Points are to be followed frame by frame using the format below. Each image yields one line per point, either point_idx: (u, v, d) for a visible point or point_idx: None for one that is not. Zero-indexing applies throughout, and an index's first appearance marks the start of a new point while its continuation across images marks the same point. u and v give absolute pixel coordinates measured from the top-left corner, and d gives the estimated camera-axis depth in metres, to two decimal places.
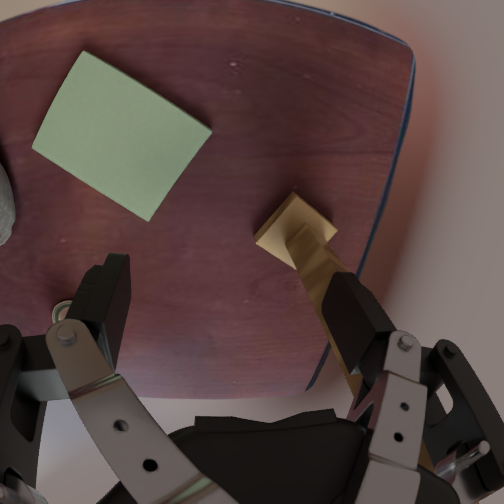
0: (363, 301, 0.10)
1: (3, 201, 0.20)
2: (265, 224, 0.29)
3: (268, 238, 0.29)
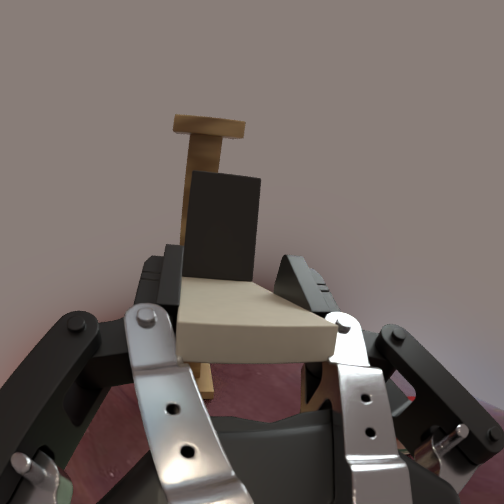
0: (305, 282, 0.10)
1: None
2: None
3: (203, 387, 0.34)
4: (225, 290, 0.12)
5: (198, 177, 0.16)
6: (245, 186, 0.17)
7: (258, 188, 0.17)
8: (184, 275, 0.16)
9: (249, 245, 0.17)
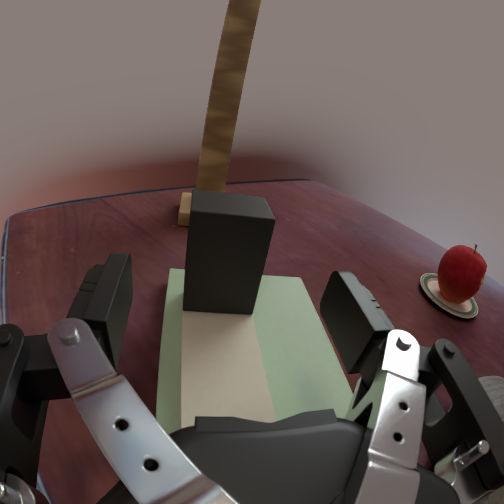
0: (361, 300, 0.10)
1: None
2: None
3: None
4: (221, 376, 0.13)
5: (198, 219, 0.13)
6: (255, 228, 0.14)
7: (270, 231, 0.14)
8: (185, 310, 0.16)
9: (253, 286, 0.16)
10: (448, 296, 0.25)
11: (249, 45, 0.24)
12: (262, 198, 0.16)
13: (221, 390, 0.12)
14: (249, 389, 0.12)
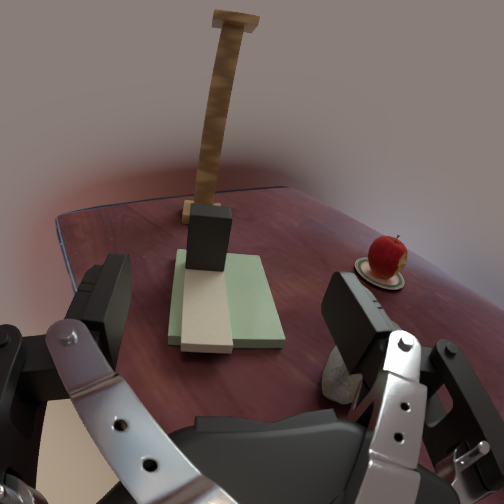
0: (363, 301, 0.10)
1: None
2: None
3: None
4: (203, 297, 0.26)
5: (193, 219, 0.27)
6: (222, 223, 0.28)
7: (230, 224, 0.28)
8: (186, 268, 0.30)
9: (223, 254, 0.30)
10: (375, 273, 0.39)
11: (229, 97, 0.37)
12: (228, 207, 0.30)
13: (203, 303, 0.26)
14: (217, 303, 0.26)
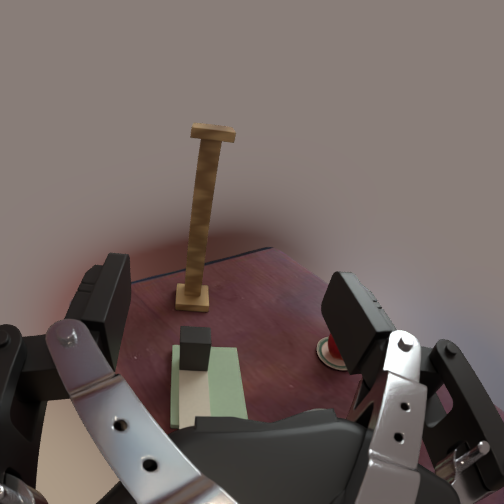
0: (363, 301, 0.10)
1: None
2: (198, 309, 0.53)
3: (202, 303, 0.53)
4: (193, 396, 0.35)
5: (183, 344, 0.36)
6: (204, 346, 0.36)
7: (210, 347, 0.37)
8: (180, 369, 0.38)
9: (206, 362, 0.38)
10: (332, 355, 0.47)
11: (210, 208, 0.46)
12: (209, 328, 0.39)
13: (192, 401, 0.34)
14: (202, 401, 0.35)
